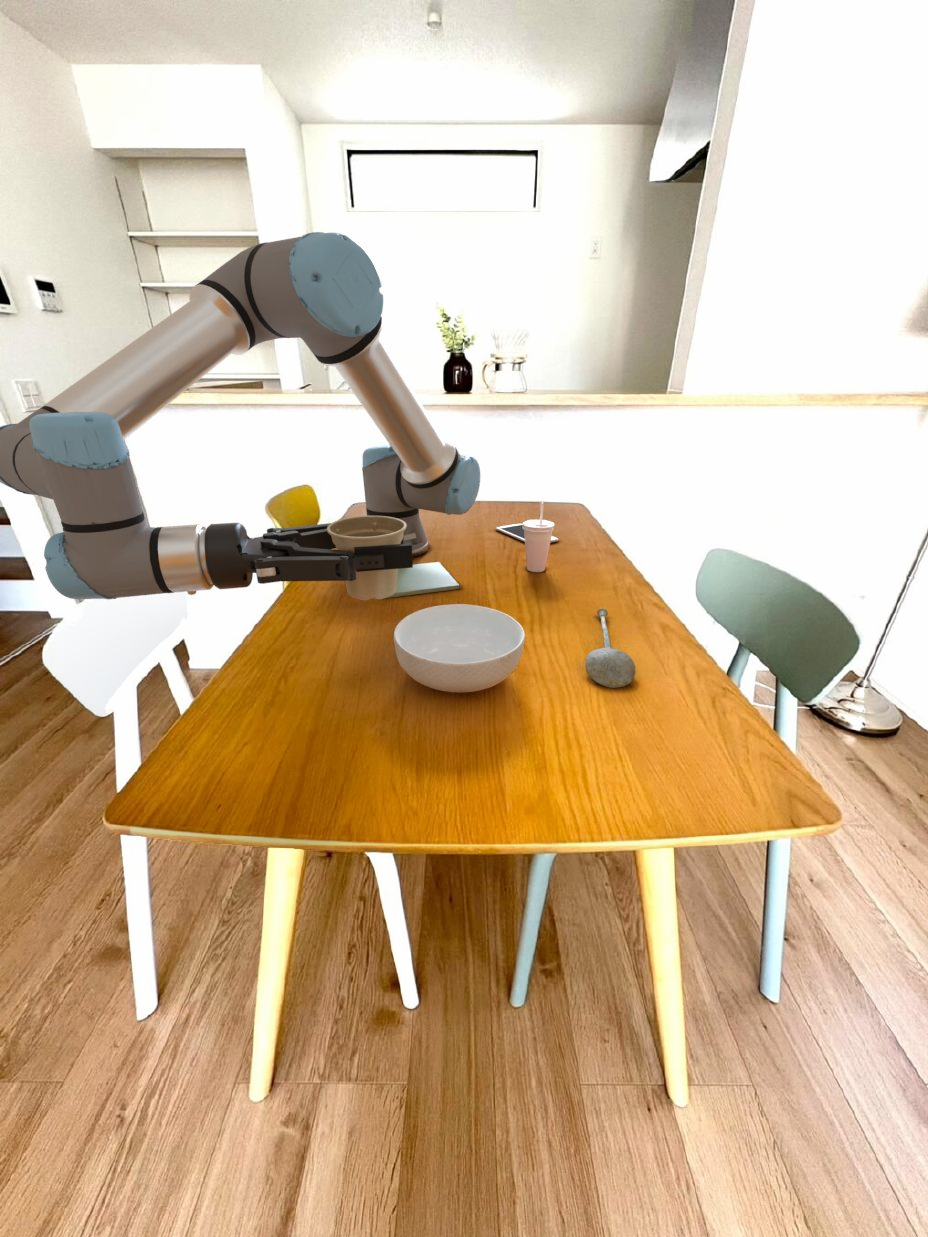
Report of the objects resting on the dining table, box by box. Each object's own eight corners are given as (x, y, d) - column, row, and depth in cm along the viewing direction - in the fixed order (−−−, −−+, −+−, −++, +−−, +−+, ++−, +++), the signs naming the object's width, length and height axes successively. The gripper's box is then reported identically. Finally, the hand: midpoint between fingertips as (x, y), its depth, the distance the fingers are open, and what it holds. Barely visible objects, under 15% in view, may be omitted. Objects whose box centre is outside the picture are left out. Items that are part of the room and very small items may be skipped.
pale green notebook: (373, 572, 106) (372, 568, 106) (439, 565, 110) (438, 561, 110) (385, 598, 94) (385, 594, 94) (459, 589, 98) (459, 585, 98)
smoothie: (537, 576, 104) (541, 507, 98) (513, 568, 109) (516, 501, 102) (557, 569, 108) (563, 502, 102) (534, 561, 112) (538, 496, 106)
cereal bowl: (420, 726, 60) (418, 674, 57) (381, 660, 74) (378, 615, 71) (546, 693, 67) (550, 645, 64) (489, 638, 80) (490, 596, 77)
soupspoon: (583, 689, 69) (634, 696, 68) (587, 667, 67) (639, 675, 66) (582, 614, 88) (622, 619, 87) (585, 596, 86) (626, 601, 85)
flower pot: (395, 610, 61) (391, 539, 58) (321, 603, 63) (312, 533, 59) (418, 581, 70) (416, 517, 66) (352, 576, 71) (346, 513, 68)
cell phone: (533, 546, 122) (533, 543, 122) (495, 529, 134) (495, 527, 134) (559, 541, 125) (559, 538, 125) (520, 525, 138) (520, 523, 138)
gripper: (232, 558, 71) (398, 547, 76) (197, 626, 52) (421, 605, 57) (221, 504, 68) (395, 495, 72) (180, 554, 49) (418, 539, 54)
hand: (406, 543), depth 65 cm, fingers closed on flower pot, 8 cm apart
